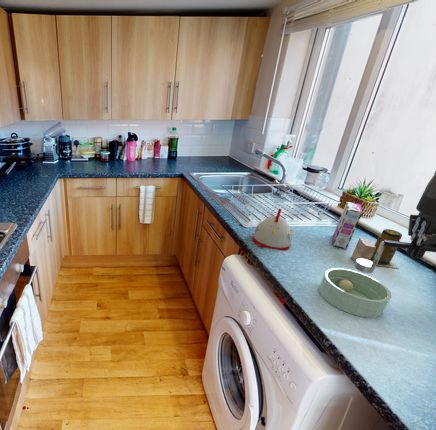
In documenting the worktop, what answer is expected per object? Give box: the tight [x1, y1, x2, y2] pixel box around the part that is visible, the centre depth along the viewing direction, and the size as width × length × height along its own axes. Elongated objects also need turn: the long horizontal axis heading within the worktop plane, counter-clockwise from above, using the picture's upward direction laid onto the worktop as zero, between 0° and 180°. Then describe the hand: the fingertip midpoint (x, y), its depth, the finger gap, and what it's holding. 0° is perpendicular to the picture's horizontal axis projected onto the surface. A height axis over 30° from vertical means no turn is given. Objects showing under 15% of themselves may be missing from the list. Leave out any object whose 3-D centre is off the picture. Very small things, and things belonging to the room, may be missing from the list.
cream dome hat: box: [252, 208, 293, 252], centre depth 116 cm, size 14×14×15 cm
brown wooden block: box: [351, 237, 376, 263], centre depth 105 cm, size 3×6×8 cm, turn 159°
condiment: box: [370, 228, 403, 269], centre depth 105 cm, size 7×8×12 cm
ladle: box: [353, 240, 436, 274], centre depth 78 cm, size 19×4×10 cm, turn 69°
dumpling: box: [338, 280, 353, 291], centre depth 90 cm, size 4×4×4 cm
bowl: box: [318, 267, 392, 319], centre depth 86 cm, size 16×16×6 cm
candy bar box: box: [332, 201, 363, 250], centre depth 117 cm, size 11×5×16 cm, turn 145°
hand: (413, 255), depth 77 cm, fingers closed on ladle, 1 cm apart
